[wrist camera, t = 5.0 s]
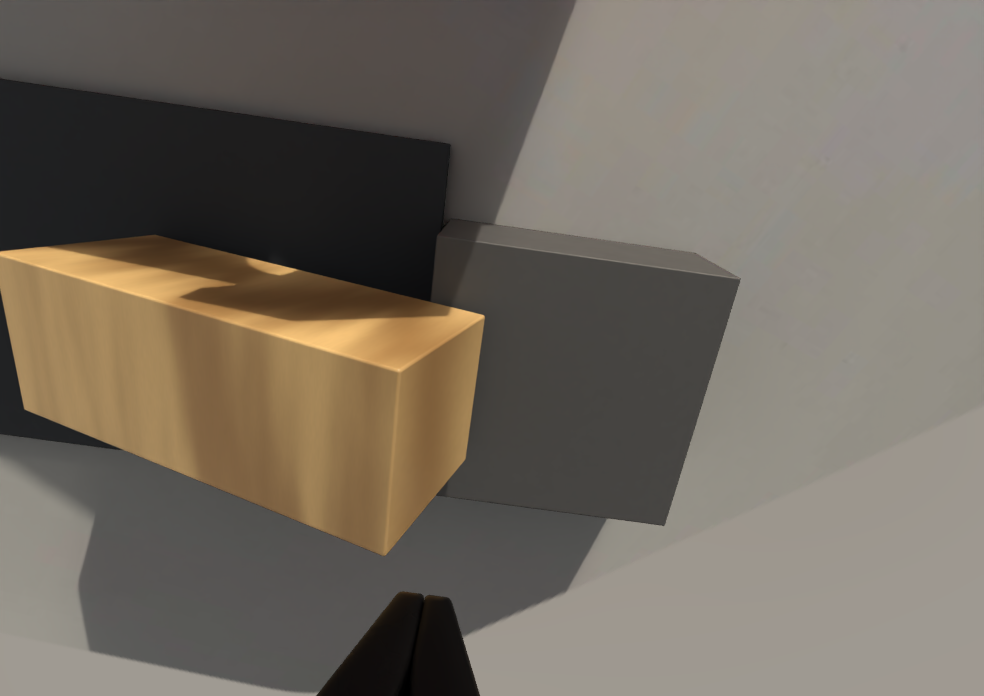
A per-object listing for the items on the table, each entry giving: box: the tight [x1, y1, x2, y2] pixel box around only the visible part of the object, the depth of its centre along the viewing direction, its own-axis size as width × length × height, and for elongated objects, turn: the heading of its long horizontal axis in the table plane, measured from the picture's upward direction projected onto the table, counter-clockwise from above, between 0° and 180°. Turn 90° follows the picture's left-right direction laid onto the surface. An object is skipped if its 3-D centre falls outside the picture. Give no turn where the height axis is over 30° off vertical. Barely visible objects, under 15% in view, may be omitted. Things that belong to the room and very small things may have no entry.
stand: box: [430, 219, 740, 526], centre depth 19 cm, size 9×9×4 cm
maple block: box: [0, 235, 485, 556], centre depth 16 cm, size 5×5×13 cm
